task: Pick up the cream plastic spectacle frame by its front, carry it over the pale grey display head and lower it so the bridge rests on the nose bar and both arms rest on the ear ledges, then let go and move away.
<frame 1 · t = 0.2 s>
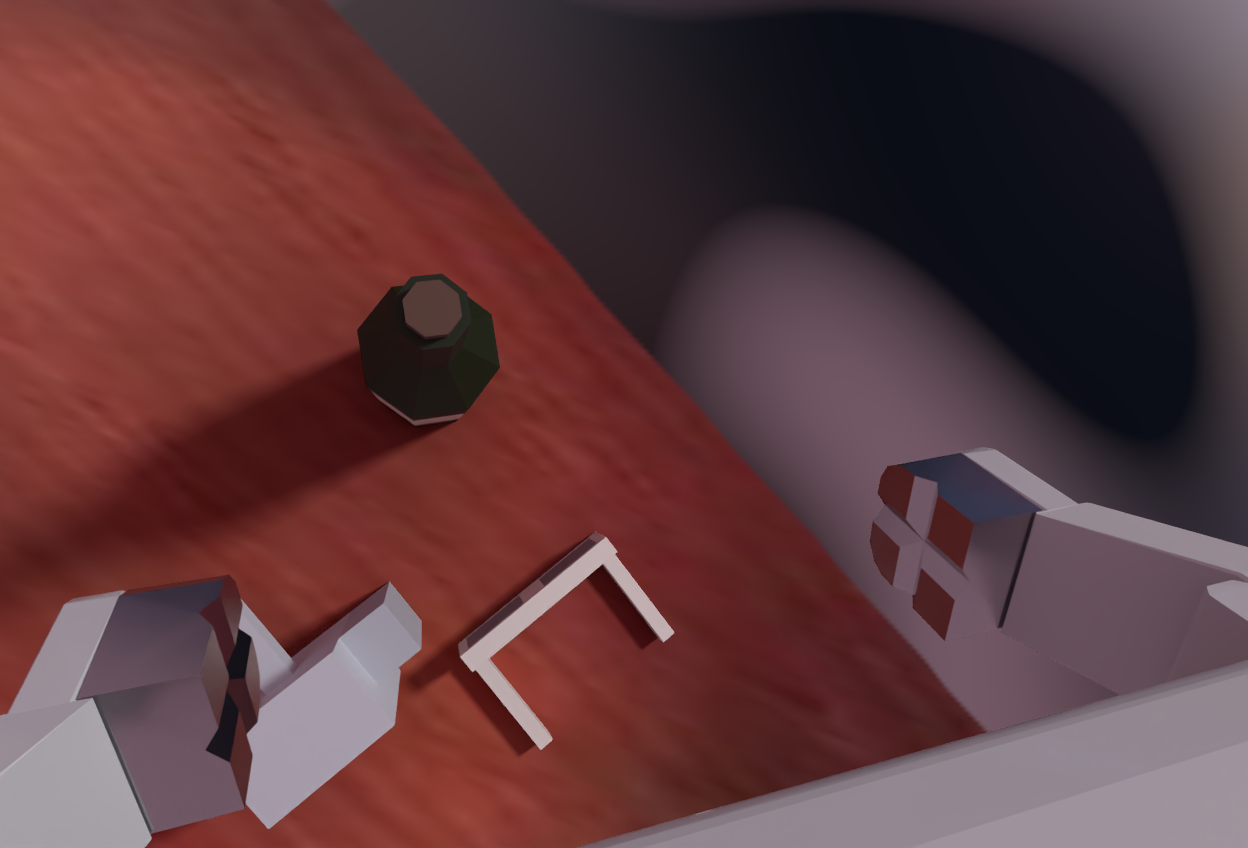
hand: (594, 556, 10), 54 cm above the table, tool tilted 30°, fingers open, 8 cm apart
wine bottle: (428, 376, 62), on the table
glasses: (533, 593, 63), on the table
display head: (309, 660, 59), on the table
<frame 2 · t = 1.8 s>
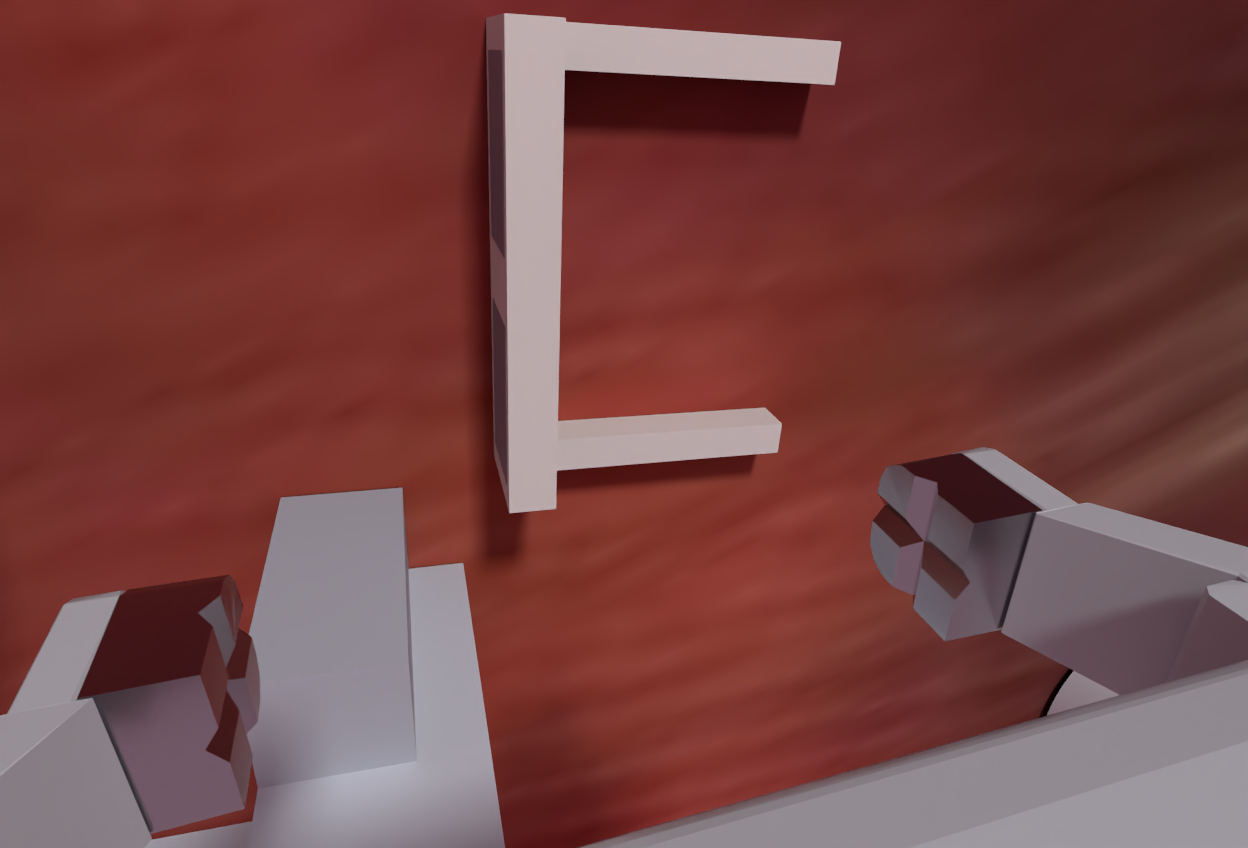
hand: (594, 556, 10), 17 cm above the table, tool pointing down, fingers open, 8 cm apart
glasses: (513, 262, 25), on the table
display head: (335, 673, 30), on the table
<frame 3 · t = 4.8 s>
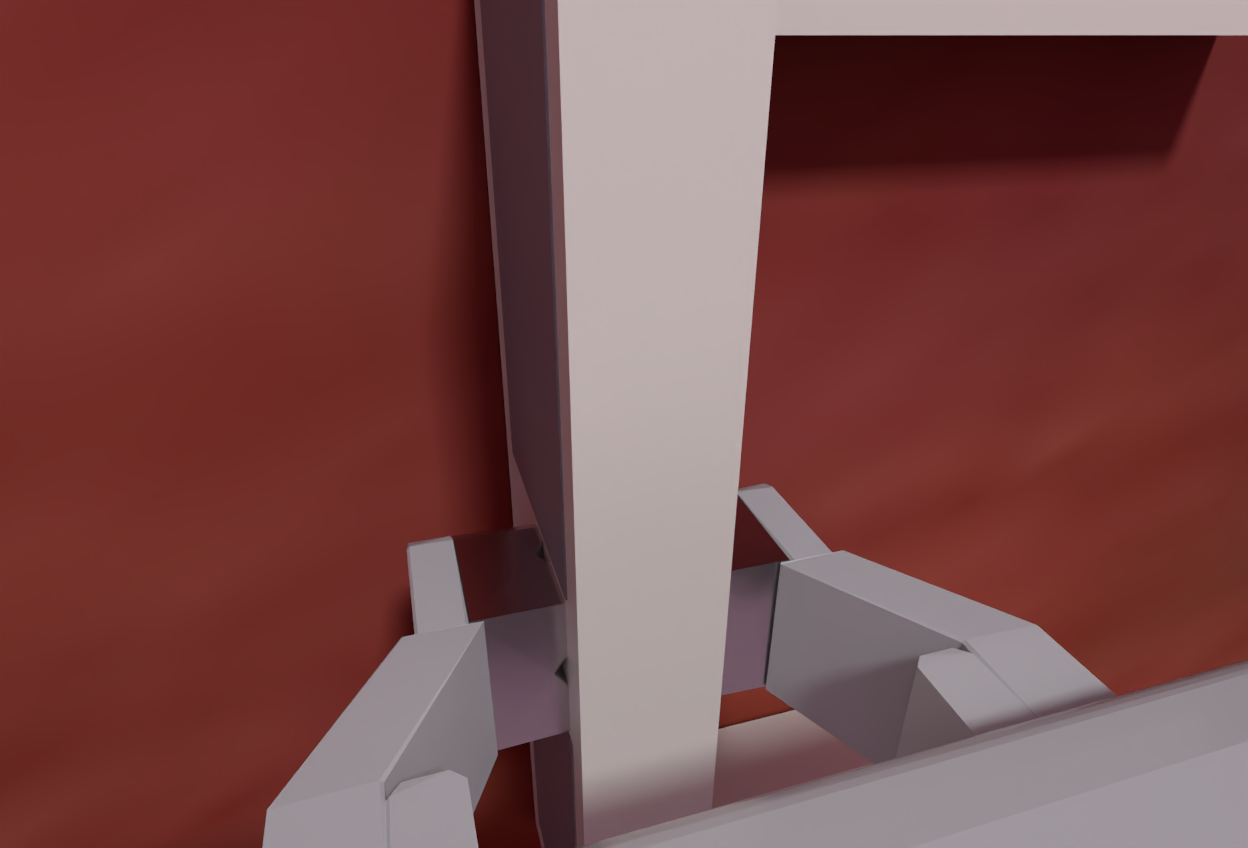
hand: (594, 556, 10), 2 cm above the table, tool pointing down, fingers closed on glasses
glasses: (563, 486, 11), on the table, touching gripper
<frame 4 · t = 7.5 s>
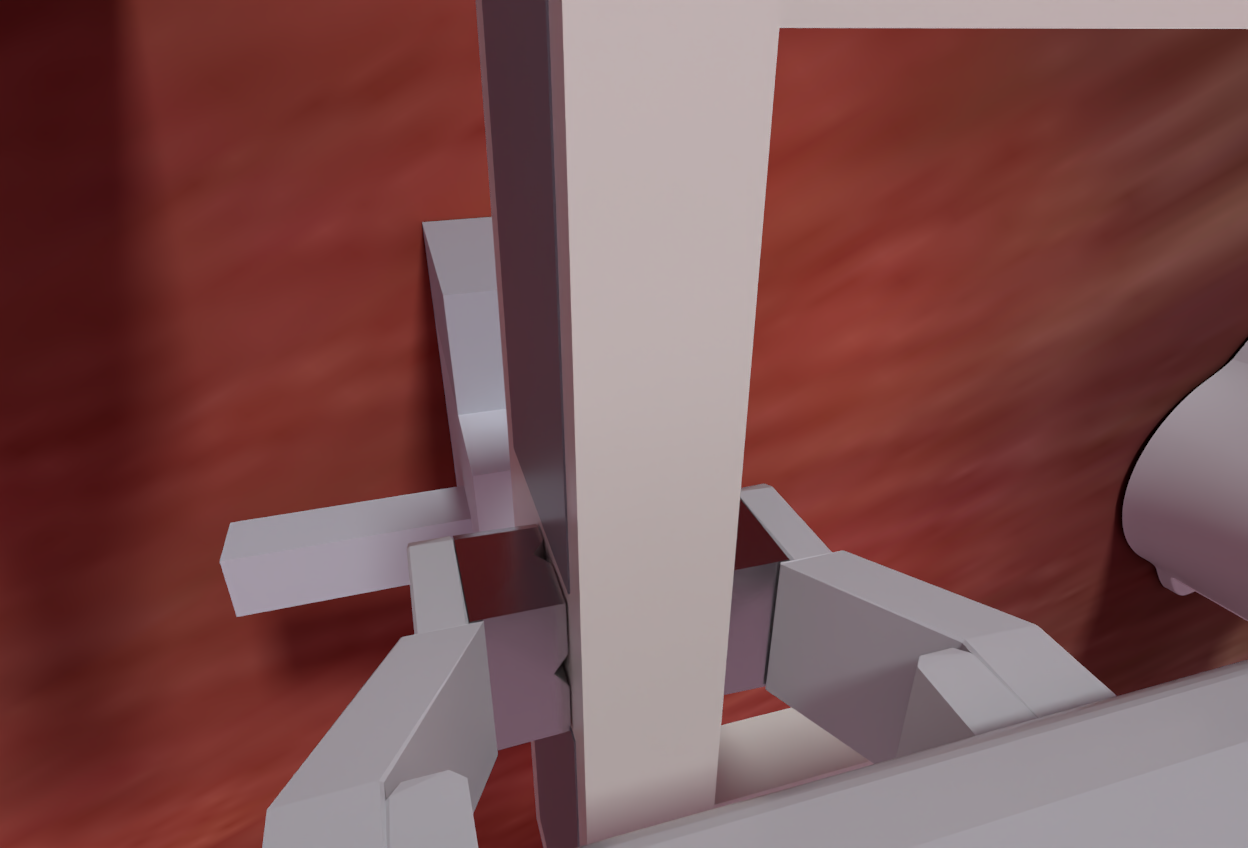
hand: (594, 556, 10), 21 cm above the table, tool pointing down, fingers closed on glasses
glasses: (564, 482, 11), point 20 cm above the table, touching gripper
display head: (472, 416, 32), on the table
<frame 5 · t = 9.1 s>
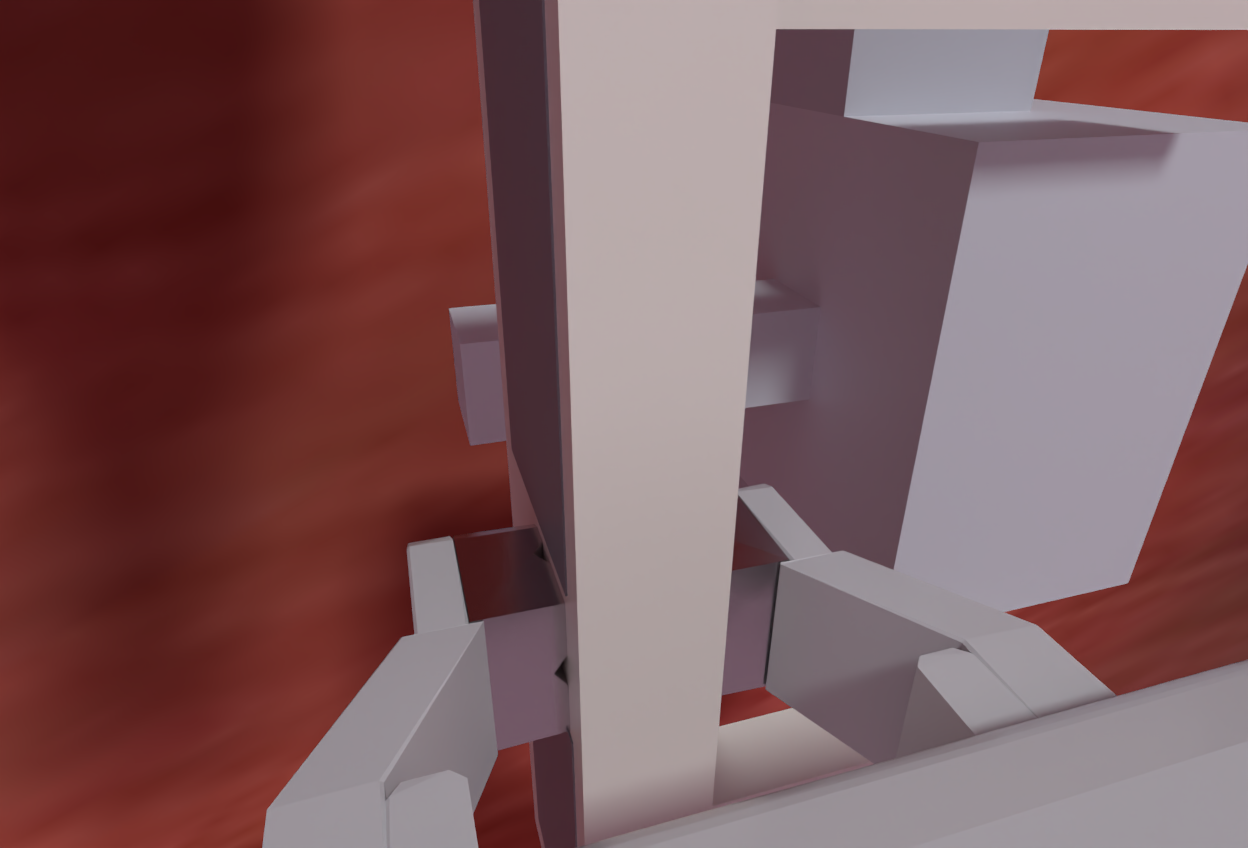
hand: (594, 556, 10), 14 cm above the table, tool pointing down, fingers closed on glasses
glasses: (562, 483, 11), point 13 cm above the table, touching gripper
display head: (696, 244, 24), on the table
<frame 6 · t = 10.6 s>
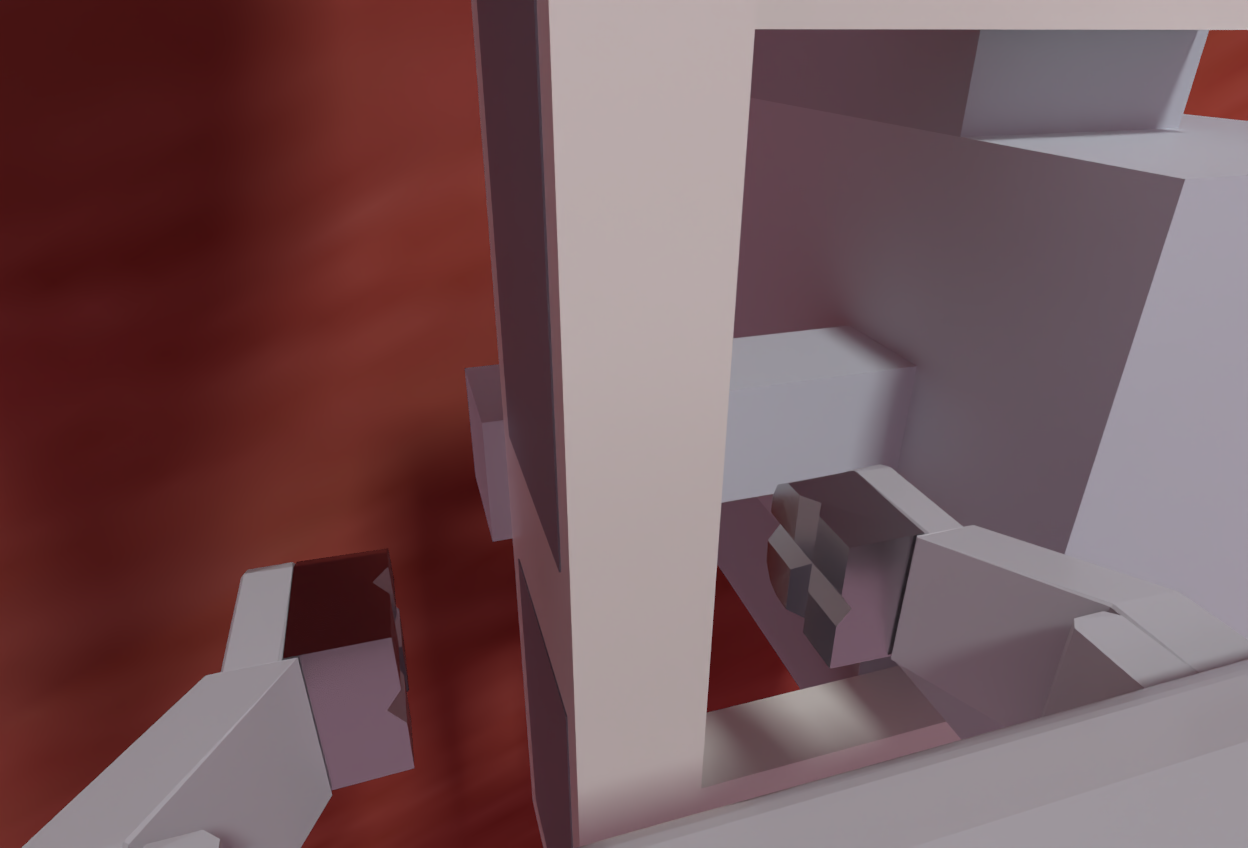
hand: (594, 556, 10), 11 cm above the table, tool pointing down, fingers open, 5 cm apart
glasses: (558, 470, 11), point 9 cm above the table, touching display head
display head: (737, 271, 21), on the table
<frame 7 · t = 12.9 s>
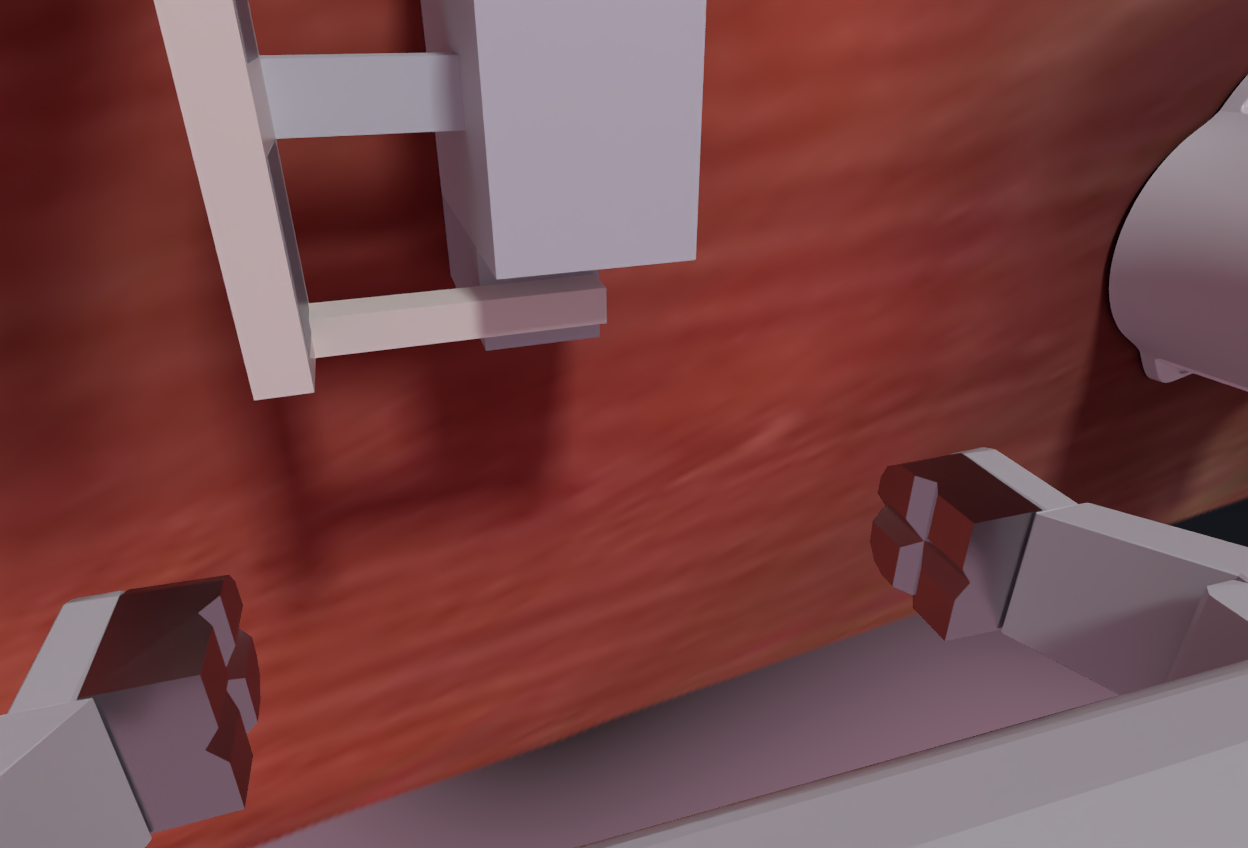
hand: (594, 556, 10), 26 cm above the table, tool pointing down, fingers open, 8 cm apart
glasses: (237, 98, 21), point 9 cm above the table, touching display head
display head: (454, 73, 30), on the table
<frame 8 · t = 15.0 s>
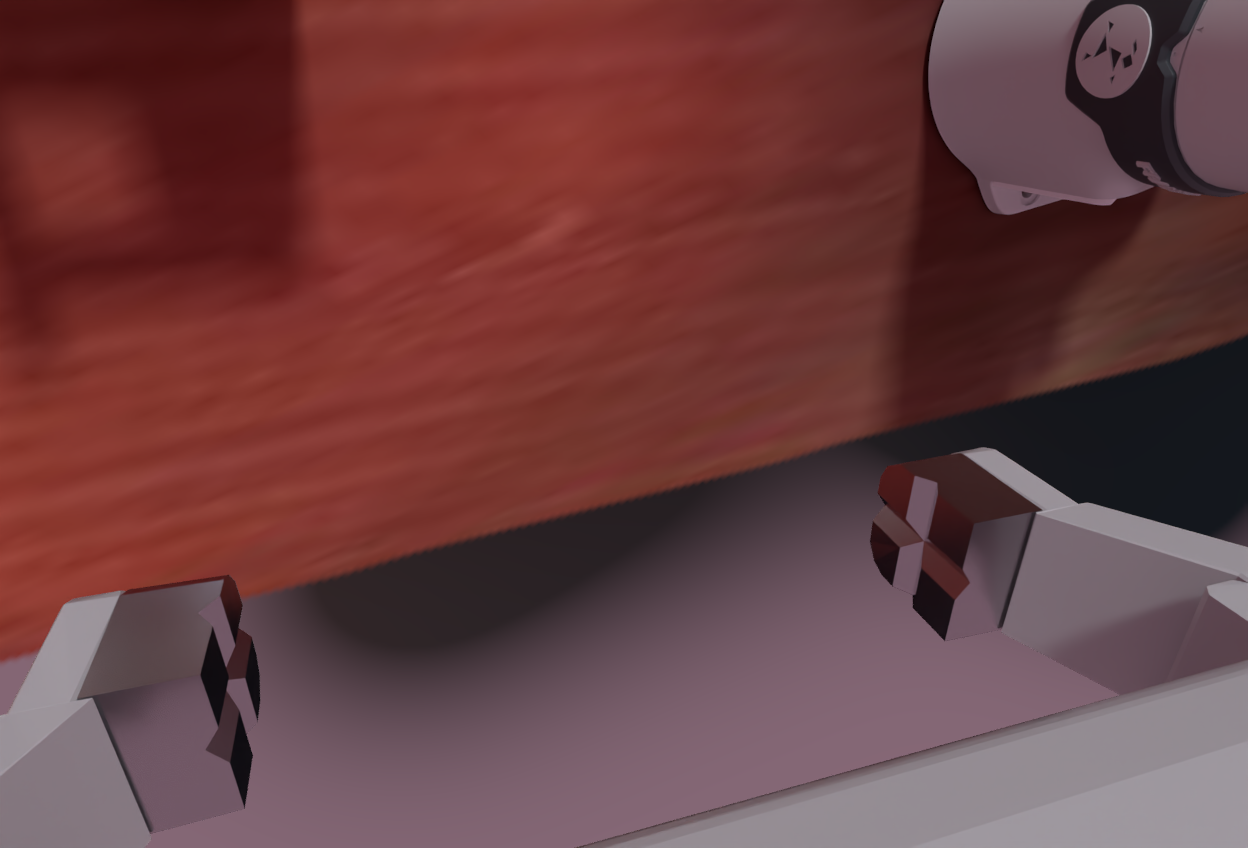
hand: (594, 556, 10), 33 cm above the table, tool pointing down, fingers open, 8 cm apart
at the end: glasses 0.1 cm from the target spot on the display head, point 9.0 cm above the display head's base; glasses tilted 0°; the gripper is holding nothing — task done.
